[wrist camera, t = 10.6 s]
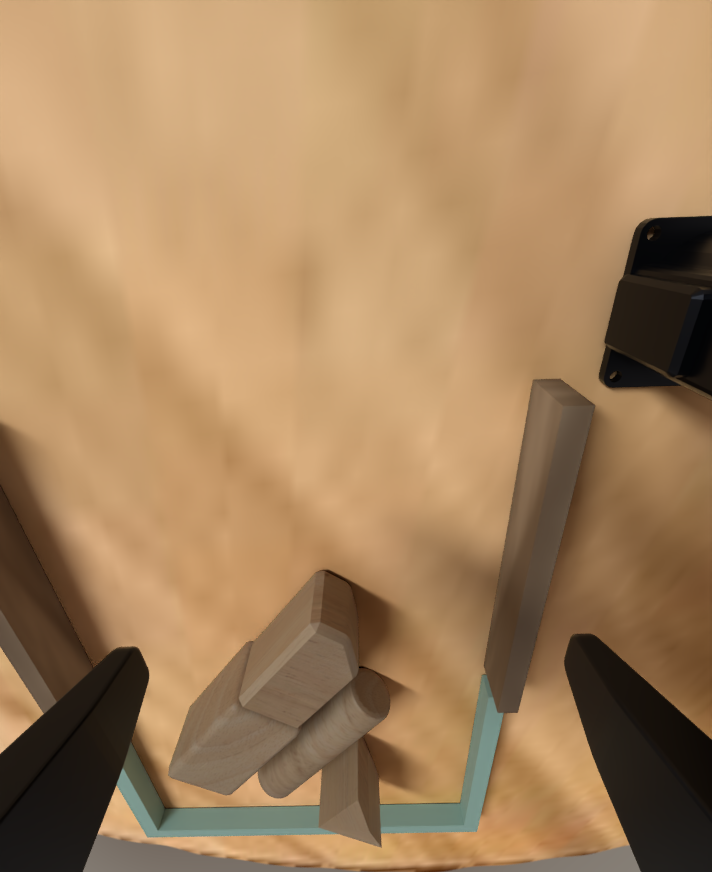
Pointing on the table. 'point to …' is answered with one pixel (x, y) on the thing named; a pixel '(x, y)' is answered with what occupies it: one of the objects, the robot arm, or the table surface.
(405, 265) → the table surface
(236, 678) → the wooden block set
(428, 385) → the table surface
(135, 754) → the frame
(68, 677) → the pair of brown bars
